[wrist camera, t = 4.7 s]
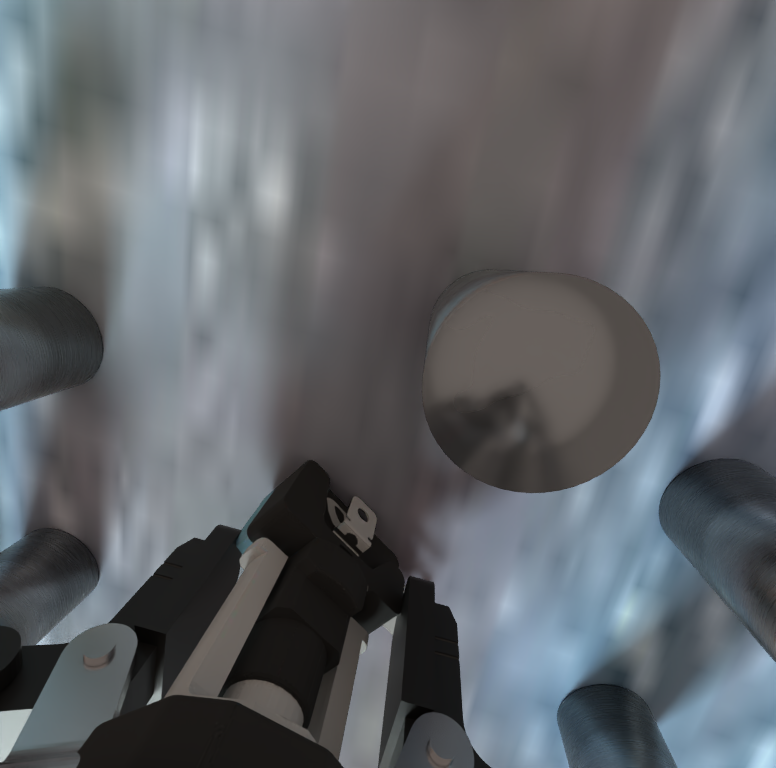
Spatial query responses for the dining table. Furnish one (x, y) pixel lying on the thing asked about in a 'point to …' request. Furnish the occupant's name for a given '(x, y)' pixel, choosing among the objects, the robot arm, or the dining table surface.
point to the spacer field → (470, 454)
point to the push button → (272, 645)
